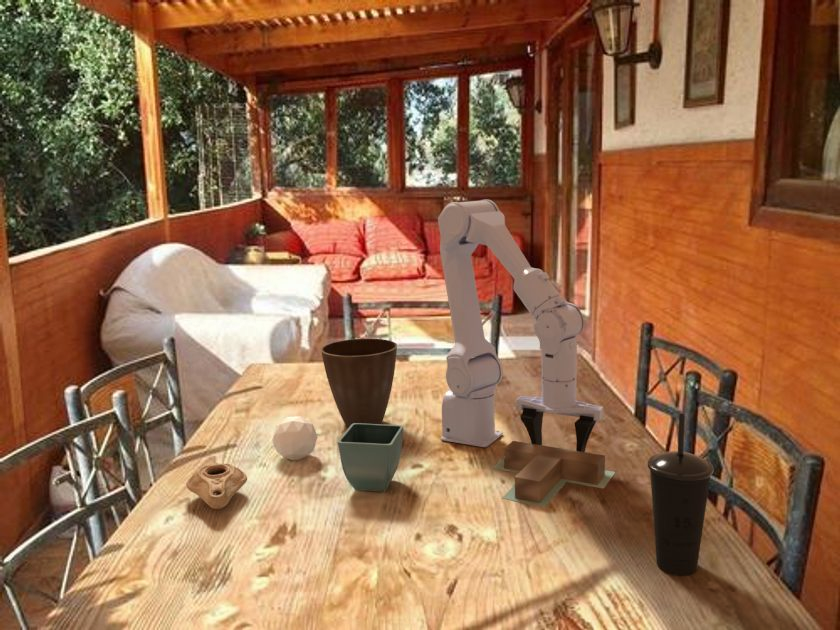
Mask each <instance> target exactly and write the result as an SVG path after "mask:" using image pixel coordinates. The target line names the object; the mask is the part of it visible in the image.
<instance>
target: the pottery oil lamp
mask: <svg viewBox="0 0 840 630" xmlns="http://www.w3.org/2000/svg"><path fill="white" fill-rule="evenodd" d="M247 481H248V475H247V474H246V473H245V472H243V471H242V470H241V469H240V468H239V467H236V466H234V465H232V464H231V463H220V462H219V463H217V462H213V463H209V464H207V465H204V466H201V467H200V468H199V469H198V470H196V471H195V472H194V473H193V474H192V475H191V476H190V478H188V479H187V481H186V483H185V485H186V488H187V489H188V491H190V492H192V493H194V494H195V495H197V496H198V497H200V498H201V500H202V501H204V502H205V504H207V505H208V506H209V507H210V508H211V509H214V510H221V509H223V508H225V507H226V506H227V505H228V504H229V502H230V501H231V499H232V497H233V496H234V495H235V494H236V493H238V491H239V490H240V489H241V488H243V486H244V485H245V484H246V483H247Z"/></svg>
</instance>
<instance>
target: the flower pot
mask: <svg viewBox="0 0 840 630" xmlns="http://www.w3.org/2000/svg"><path fill="white" fill-rule="evenodd" d="M403 435H404V425H402V424H401V425H398V424H383V423H382V424H364V423H353V424H352V425H351V426H350V427H349V428H348V427H347V430H346V431H345V432H344V433H343V434H342V435H341V437H340V438H339V439H338V440H337V447H338V452H339V456H340V457H339V458H340V463H341V469H342V471H343V473H344V476H345V478H346V480H347V481H348V483H349V485H350V486H351V487H352V488H353V489H354V490H356V491H366V492H367V491H370V492H381V493H382V492H385V491H387V489H388V487H389V485H390V484H391V482H392V481H393V478H394V476H395V474H396V472H397V470H398V467H399V464H400V462H401V461H400V460H401V458H402V457H401V456H402V450H403V439H404V437H403Z"/></svg>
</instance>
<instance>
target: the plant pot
mask: <svg viewBox="0 0 840 630" xmlns="http://www.w3.org/2000/svg"><path fill="white" fill-rule="evenodd" d="M397 344H398V343H396V342H394V341H392V340H390V339H389V340H388V339H385V338H371V337H370V338H352V339H344V340H338V341H333V342H331V343H328V344H327V343H326V344H325V345H323V346H322V347H321V349H320V352H321V357H322V361H323V365H324V366H323V367H324V371H325V375H326V378H327V381H328V384H329V388H330V391H331V394H332V397H333V399H334V403H335V405H336V408H337V410H338V412H339V415H340V417H341V419H342V422H343V423H344V425H345V427H346V428H347V429H348V428H349V427H350V426H351V425H352V424H353V423H364V424H382V425H383V421H384V418H385V415H386V411H387V408H388V404H389V402H390V401H389V400H390V398H391V397H390V396H391V393H392V388H393V383H394V377H395V369H396V363H397V362H396V361H397V349H398V345H397Z"/></svg>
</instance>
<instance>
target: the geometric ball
mask: <svg viewBox="0 0 840 630" xmlns="http://www.w3.org/2000/svg"><path fill="white" fill-rule="evenodd" d="M318 438H319V437H318V434H317V431H316V429H315V426H314V423H311V422H310V421H309V420H308V419H306V418H304V417H303V416H286V417H285V418H284V419H283V420H281V421H280V422H279V423H278V424H276V425H275V428H274V432H273V435H272V443H273V447H274V449H275V451H276V452H277V453H278V454H279V455H280V456H282V458H285V459H287V460H288V459H290V460H289V461H300V460H303V458H304V459H305V458H307V457H308V456H309V455H310V454H312V452H315V447H316V443H317V441H318ZM299 459H300V460H299Z"/></svg>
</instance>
